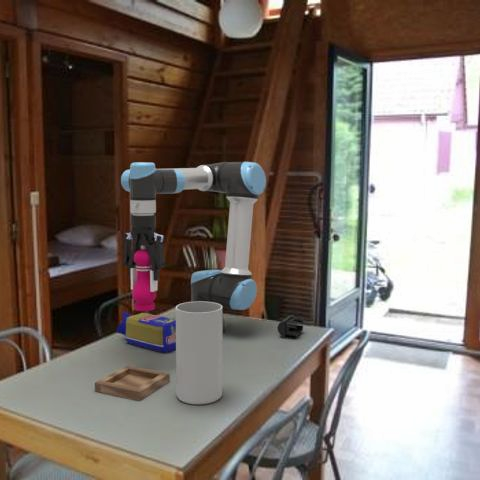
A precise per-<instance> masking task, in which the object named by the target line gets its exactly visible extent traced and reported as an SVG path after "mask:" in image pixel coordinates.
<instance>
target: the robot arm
mask: <svg viewBox="0 0 480 480" xmlns="http://www.w3.org/2000/svg"><path fill="white" fill-rule="evenodd" d="M120 184H121V187H122V188H123V190H125V191H126V192H128V193H129V195H130V196H129V198H130V199H129V200H130V201H129V203H130V205H129V206H130V210H129V211H130V214H131V215H130V227H131V229H130V230H131V231H130V232H125V233H123V234H122V238H123V254H122V255H123V257H122V265H123V266H127V267H128V278H129V279H130V289H131V290H132V291H133V289H134V286H135V284H136V280H137V270H136V267H135V266H136V265H137V264H136V263H135V261H134V254H135V252H136V251H138V250H141V245H144V246H145V248H146V249H147V252H148V255H149V259H150V262H151V265H152V269H151V270H150V292H154V291H156V292H157V291H158V290H159V289H158V283H159V281H160V270H161V269H164V268H165V267H166V257H165V246H164V245H165V243H164V241H165V239H166V238H165V237H166V236H165V235H164V234H158V233H157V231H156V227H157V216H156V213H157V202H156V201H157V197H156V196H157V195H159V194H160V195H161V194H162V195H163V194H164V195H165V194H167V195H168V194H172V195H174V194H179V193H181V192H182V191H183V190H199V191H201V192H216V193H222V194H226V197H225V198H226V199H227V200H228V201H229V213H228V224H227V235H226V236H227V238H226V239H227V240H226V248H225V249H226V252H225V262H224V267H223V269H207V270H198V271H194V272H193V273H192V274H191V281H190V295H191V296H190V298H191V299H190V302H196V301H204V302H214V303H218V304H220V305H222V308H229V309H231V310H234V311H237V310H239V311H244V310H247V309H249V308H250V307H252V304H253V303H254V302H255V301H256V298H257V294H258V285H257V283H256V282H255V280H253V279H252V277H253V276H252V275H253V274H252V271H250V270H249V263H250V251H251V250H250V249H251V240H252V239H251V238H252V237H251V236H252V226H253V213H254V204H255V203H256V202H257V201H259V195H261V194H263V193H264V190H265V189H266V185H267V178H266V174H265V171H264V169H263V168H262V166H261V165H260V164H259V163H257V162H254V161H253V162H251V161H231V162H230V161H229V162H228V161H223V162H218V163H211V164H201V165H199V166H197V167H188V168H187V167H186V168H185V167H183V168H182V167H180V168H179V167H178V168H156V164H155V163H154V162H146V161H145V162H144V161H143V162H137V161H136V162H132V163H130V166H129V169H126V170H125V171H123V173H122V175H121V176H120ZM226 322H227V321H226V320H225V316H224V314H223V312H222V333H224V332H225V331H226V329H227V323H226Z"/></svg>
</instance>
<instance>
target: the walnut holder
mask: <svg viewBox="0 0 480 480" xmlns="http://www.w3.org/2000/svg"><path fill="white" fill-rule="evenodd" d="M170 376H171V374H170V373H169V372H164V371H158V370H153V369H148V368H141V367H136V366H132V365H125V366H124V367H121V368H119V369H118V370H115V371H114V372H113V373H111V374H109V375H107V376H105V377H103V378H101V379H99V380H97V381H96V382H94V392H95V393H101V394H105V395H109V396H115V397H119V398H123V399H129V400H133V401H137V402H140V401H142V400H143V399H145V398H146V397H148V396H150V395H151V394H154V392H156V391H158V390H160V389H161V388H163V387H164V386H165V385H167V384H168V383H170V381H171V380H170V379H171V378H170Z"/></svg>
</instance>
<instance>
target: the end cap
mask: <svg viewBox="0 0 480 480" xmlns="http://www.w3.org/2000/svg"><path fill="white" fill-rule="evenodd" d="M299 323H302V324H303V323H304V318H303V317H297V316H295V317H294V314H290V315H288V316H287V317H285V318H284V319H283V320H281V321H280V322H279V323H278V326H277V332H278V334H279V335H280V336H281V337H282V338H283V339H286V340H292V341H293V340H294V341H295V340H297V339H299V338H300V337H301V336H302V335H303V333H304V332H303V331H304V326H303V325H299Z"/></svg>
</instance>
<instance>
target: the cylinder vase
mask: <svg viewBox="0 0 480 480" xmlns="http://www.w3.org/2000/svg"><path fill="white" fill-rule="evenodd" d="M222 313H223V307H222V305H220V304H218V303H214V302H204V301H196V302H191V301H186V302H183V303H179V304H177V305H176V306H175V320H176V349H175V362H176V363H175V369H176V371H175V375H176V376H175V377H176V378H175V379H176V380H175V381H176V382H175V383H176V385H175V386H176V393H175V394H176V397H177V399H178V400H179V401H181V402H183V403H185V404H190V405H208V404H212V403H215V402H217V401H218V400H219V399H221V398H222V395H223V332H222Z"/></svg>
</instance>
